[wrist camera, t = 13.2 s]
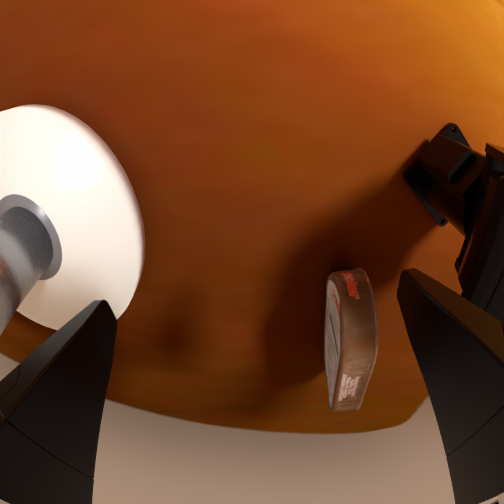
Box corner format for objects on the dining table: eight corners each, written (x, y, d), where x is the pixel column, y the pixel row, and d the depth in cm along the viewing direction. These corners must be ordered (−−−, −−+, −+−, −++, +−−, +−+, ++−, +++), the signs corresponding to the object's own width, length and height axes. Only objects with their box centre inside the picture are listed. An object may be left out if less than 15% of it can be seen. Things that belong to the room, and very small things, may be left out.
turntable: (199, 197, 19) (194, 210, 18) (100, 346, 28) (94, 360, 26) (-4, 66, 12) (-21, 69, 10) (-37, 247, 21) (-47, 257, 19)
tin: (344, 358, 31) (360, 422, 24) (317, 363, 31) (329, 428, 24) (356, 246, 23) (395, 321, 16) (319, 250, 23) (346, 330, 16)
